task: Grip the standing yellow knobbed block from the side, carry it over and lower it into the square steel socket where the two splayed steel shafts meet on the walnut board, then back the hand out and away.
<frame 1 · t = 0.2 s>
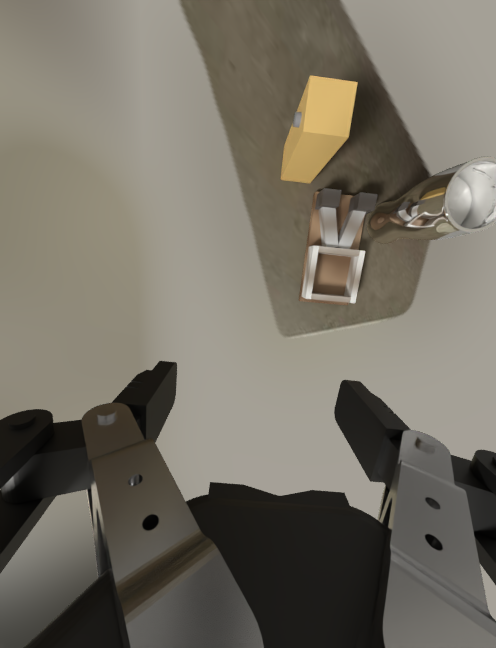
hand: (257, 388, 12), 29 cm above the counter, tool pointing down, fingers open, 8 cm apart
coupling board: (330, 251, 38), on the counter
beer glass: (385, 223, 38), on the counter
yellow knobbed block: (297, 164, 35), on the counter
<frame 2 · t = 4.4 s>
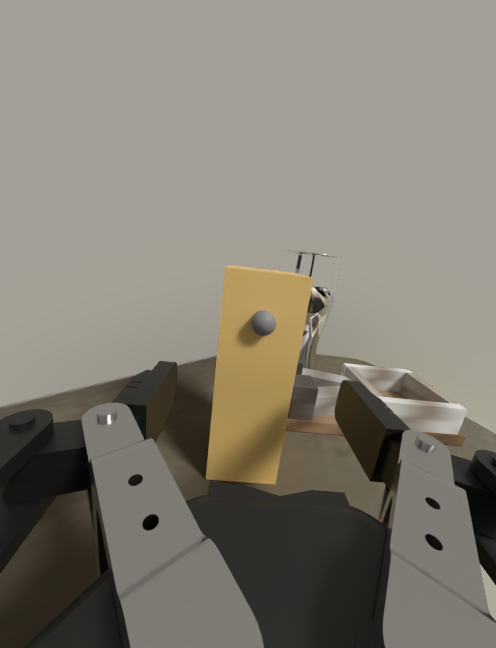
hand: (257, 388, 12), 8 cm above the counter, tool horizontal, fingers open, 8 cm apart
coupling board: (353, 410, 25), on the counter
beer glass: (290, 372, 32), on the counter
yellow knobbed block: (240, 454, 17), on the counter
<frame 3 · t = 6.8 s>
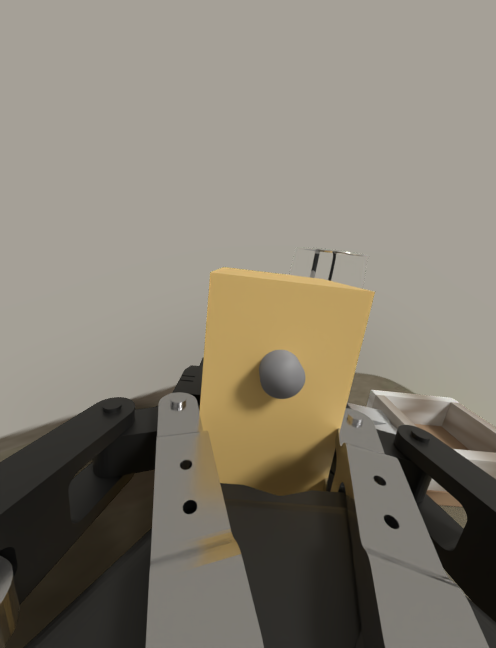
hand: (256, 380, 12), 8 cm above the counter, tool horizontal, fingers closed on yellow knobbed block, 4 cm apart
coupling board: (388, 455, 19), on the counter
beer glass: (301, 396, 26), on the counter
yellow knobbed block: (240, 545, 12), on the counter, touching gripper
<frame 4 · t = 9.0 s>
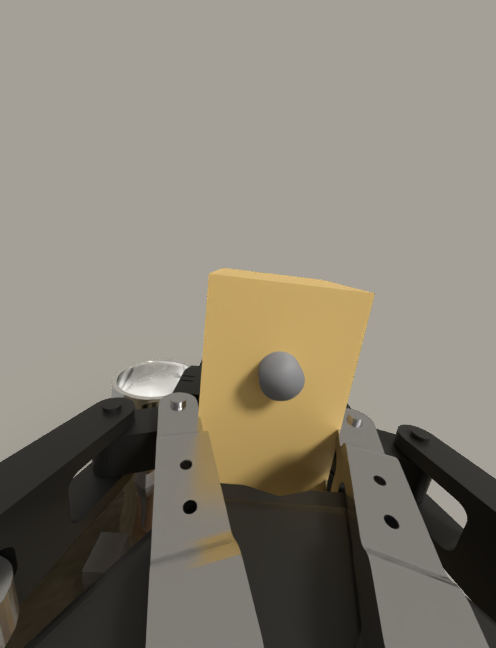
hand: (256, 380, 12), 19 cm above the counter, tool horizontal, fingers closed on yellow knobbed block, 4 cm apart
coupling board: (191, 643, 16), on the counter
beer glass: (154, 517, 23), on the counter
yellow knobbed block: (240, 548, 12), point 11 cm above the counter, touching gripper
when the fingers open (10 cm above the counter, at t = 11.3 s): yellow knobbed block drops 1 cm, resting on coupling board.
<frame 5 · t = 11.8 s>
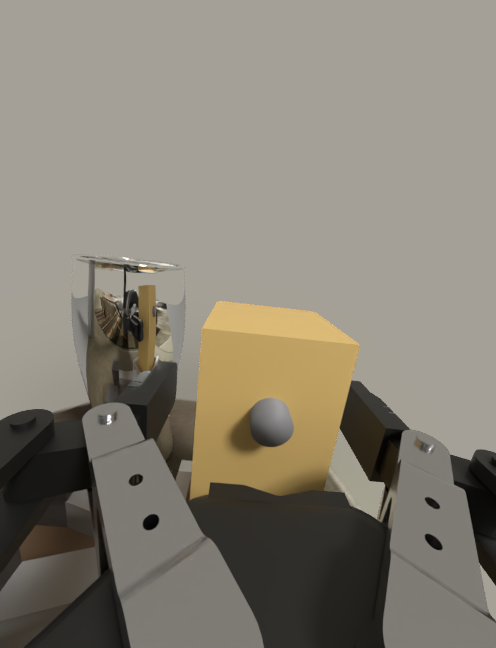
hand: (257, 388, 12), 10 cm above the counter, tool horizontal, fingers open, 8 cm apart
coupling board: (165, 577, 12), on the counter
beer glass: (133, 452, 20), on the counter
yellow knobbed block: (235, 569, 12), point 1 cm above the counter, touching coupling board
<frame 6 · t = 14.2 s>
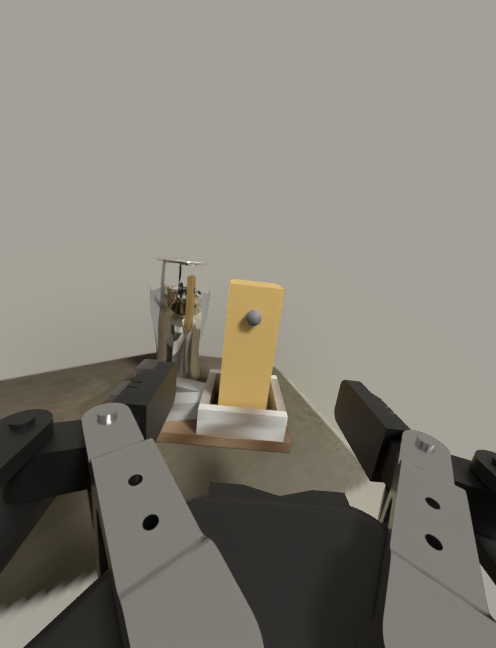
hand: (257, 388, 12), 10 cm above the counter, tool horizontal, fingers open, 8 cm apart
coupling board: (205, 416, 25), on the counter
beer glass: (176, 377, 32), on the counter
yellow knobbed block: (239, 411, 25), point 1 cm above the counter, touching coupling board
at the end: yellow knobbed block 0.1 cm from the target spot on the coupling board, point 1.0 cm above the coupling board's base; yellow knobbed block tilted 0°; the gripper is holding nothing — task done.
